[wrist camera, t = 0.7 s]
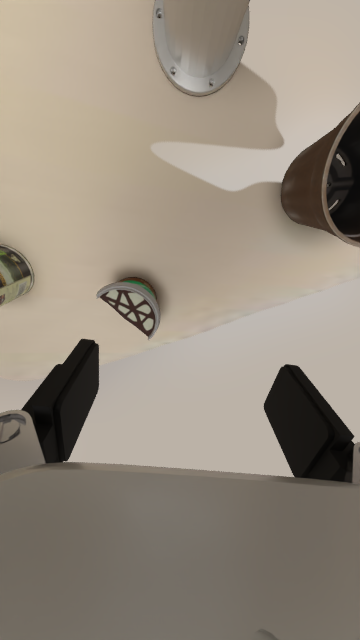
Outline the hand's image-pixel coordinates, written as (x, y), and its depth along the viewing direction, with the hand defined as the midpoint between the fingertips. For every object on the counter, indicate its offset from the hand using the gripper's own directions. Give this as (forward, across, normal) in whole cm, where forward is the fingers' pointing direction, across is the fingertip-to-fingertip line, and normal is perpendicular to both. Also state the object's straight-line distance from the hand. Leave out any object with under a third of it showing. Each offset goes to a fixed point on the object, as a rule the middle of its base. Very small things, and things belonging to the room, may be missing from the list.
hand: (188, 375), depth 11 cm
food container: (+35, +6, +8) cm, 36 cm away
